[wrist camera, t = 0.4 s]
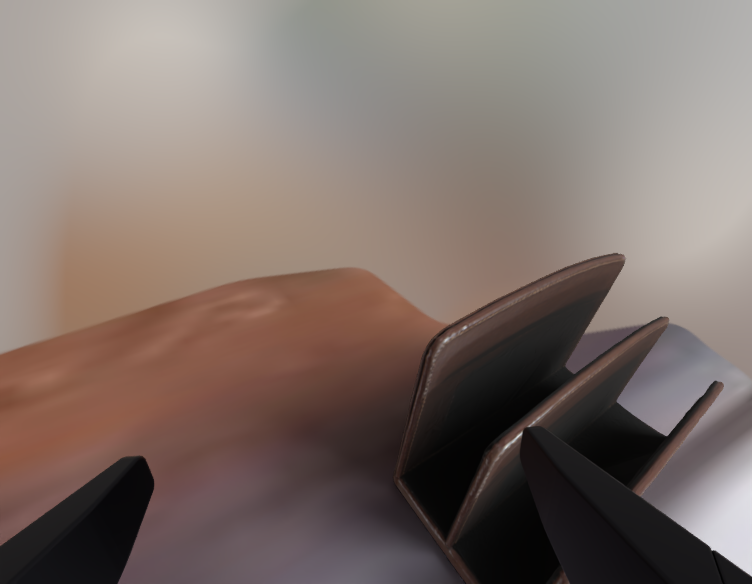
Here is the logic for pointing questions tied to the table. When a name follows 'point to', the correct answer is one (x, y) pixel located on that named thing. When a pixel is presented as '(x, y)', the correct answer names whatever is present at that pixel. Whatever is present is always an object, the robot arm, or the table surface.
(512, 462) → the letter holder
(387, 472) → the table surface
